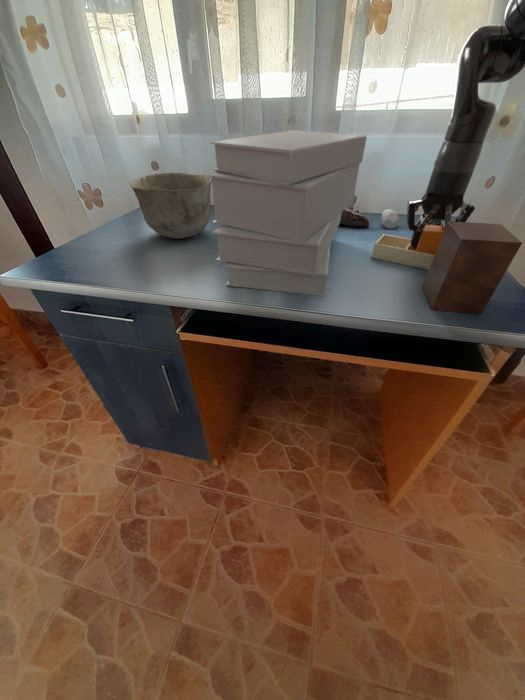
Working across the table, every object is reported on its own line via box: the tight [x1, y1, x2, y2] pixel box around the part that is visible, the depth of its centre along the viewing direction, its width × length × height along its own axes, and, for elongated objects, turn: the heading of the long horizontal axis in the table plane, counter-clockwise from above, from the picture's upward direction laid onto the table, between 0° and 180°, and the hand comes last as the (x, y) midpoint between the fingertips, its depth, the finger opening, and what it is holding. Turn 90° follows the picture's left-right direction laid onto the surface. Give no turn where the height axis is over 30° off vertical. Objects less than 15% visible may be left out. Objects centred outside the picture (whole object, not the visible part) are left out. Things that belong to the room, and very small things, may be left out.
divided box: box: [371, 233, 435, 271], centre depth 73 cm, size 8×22×4 cm, turn 57°
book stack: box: [206, 129, 367, 297], centre depth 68 cm, size 30×35×26 cm
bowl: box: [129, 172, 212, 240], centre depth 85 cm, size 22×22×15 cm
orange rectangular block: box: [412, 224, 444, 255], centre depth 71 cm, size 4×4×6 cm
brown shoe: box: [339, 207, 370, 228], centre depth 94 cm, size 6×12×11 cm
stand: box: [422, 221, 523, 316], centre depth 56 cm, size 9×9×14 cm
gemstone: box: [381, 208, 400, 230], centre depth 93 cm, size 6×6×5 cm
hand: (425, 247), depth 72 cm, fingers closed on orange rectangular block, 4 cm apart
